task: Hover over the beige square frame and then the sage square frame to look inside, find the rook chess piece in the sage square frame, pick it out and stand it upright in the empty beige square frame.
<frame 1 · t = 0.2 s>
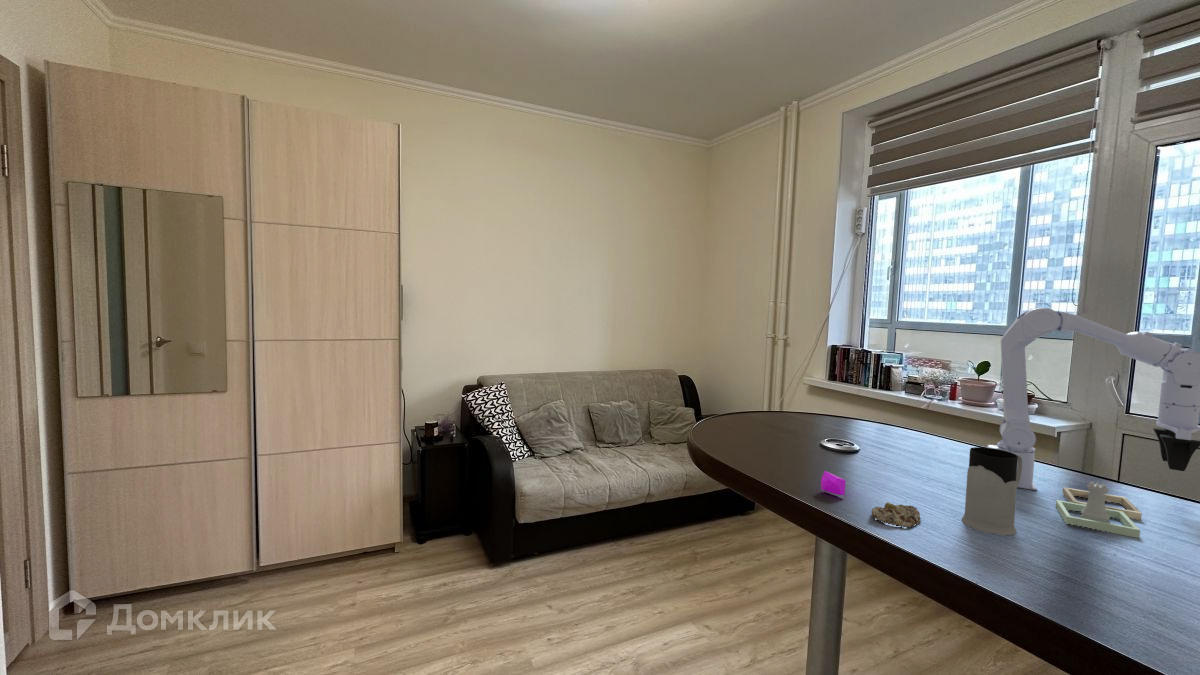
hand: (1173, 465, 108), 10 cm above the table, tool pointing down, fingers open, 7 cm apart
mineral rock: (897, 522, 102), on the table
sage square frame: (1094, 521, 102), on the table
beige black oval cylinder: (996, 524, 101), on the table
crystal: (833, 495, 115), on the table
rook chess piece: (1094, 522, 102), resting in sage square frame
beige square frame: (1099, 506, 110), on the table
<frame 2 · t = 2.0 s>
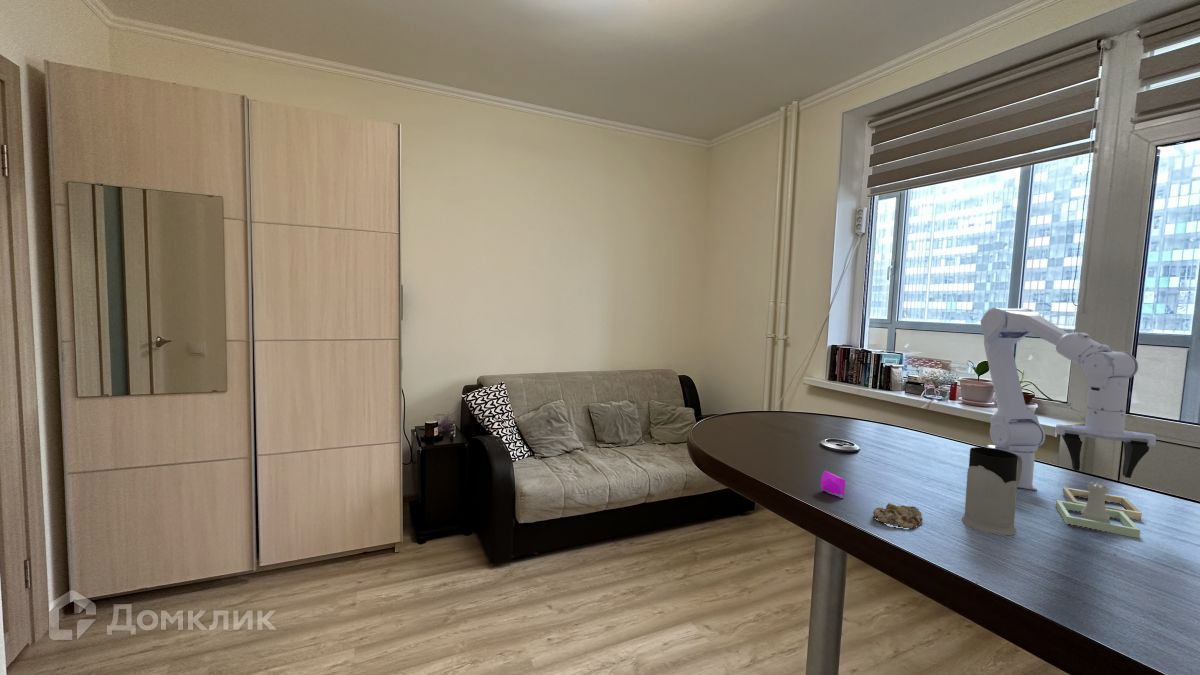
hand: (1100, 472, 104), 9 cm above the table, tool pointing down, fingers open, 7 cm apart
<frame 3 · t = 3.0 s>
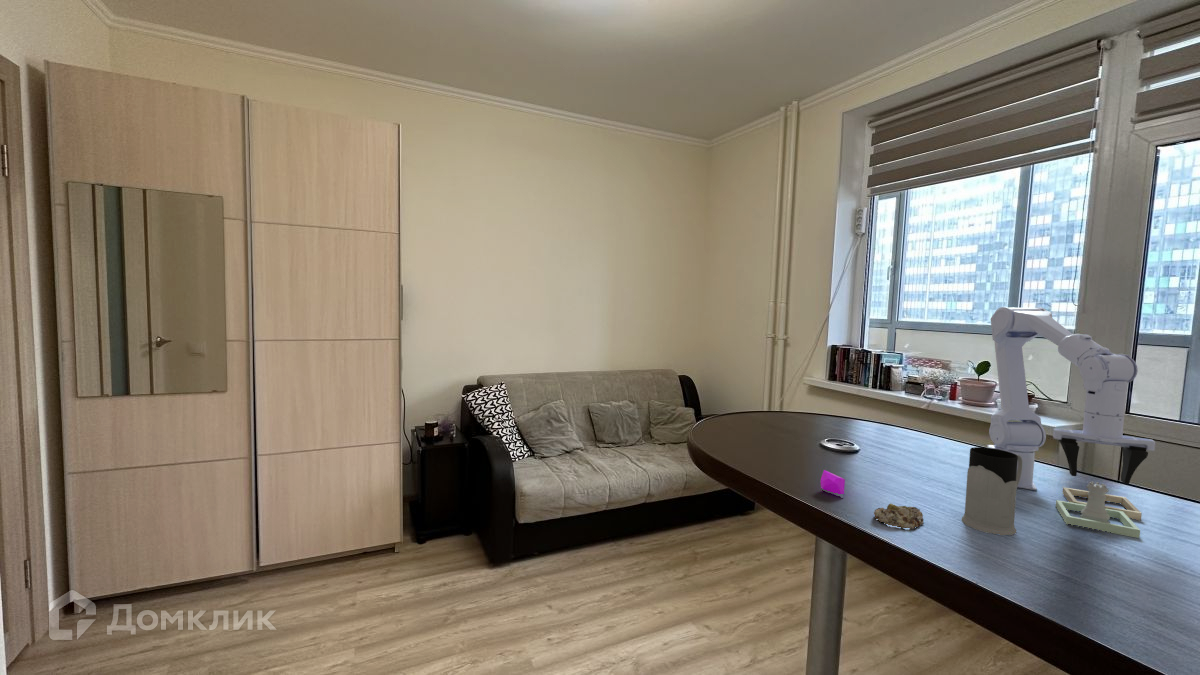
hand: (1098, 478, 101), 9 cm above the table, tool pointing down, fingers open, 7 cm apart
nothing on the table moved.
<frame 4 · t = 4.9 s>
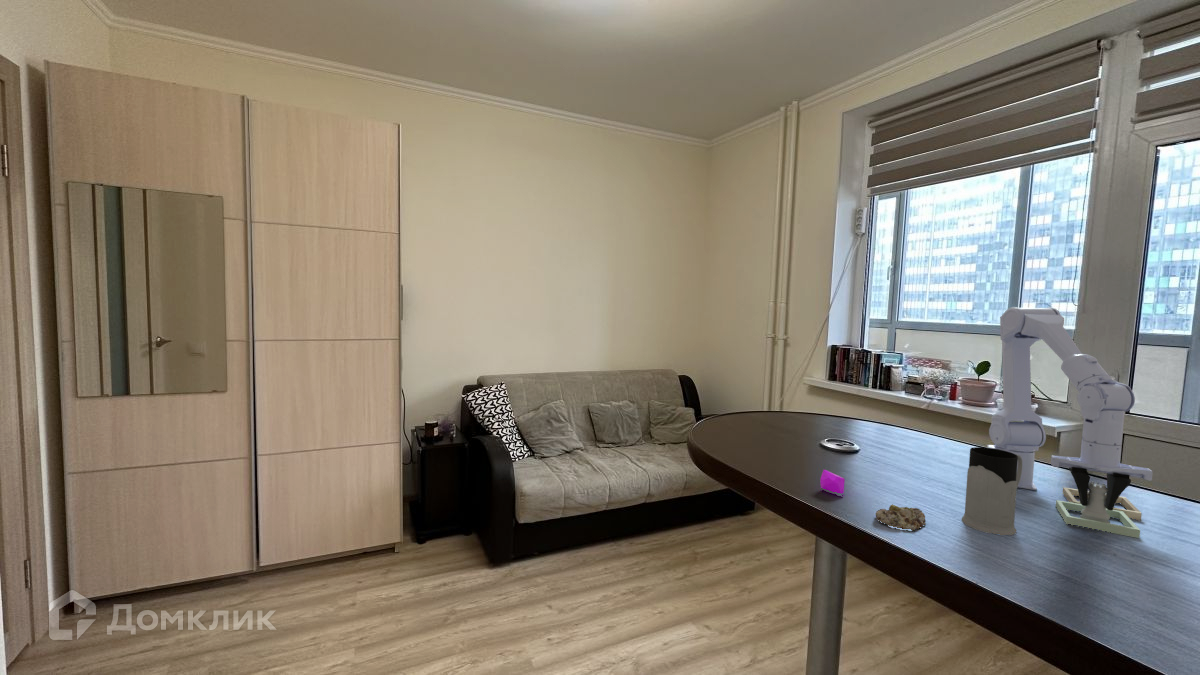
hand: (1095, 506, 102), 3 cm above the table, tool pointing down, fingers closed on rook chess piece, 3 cm apart
rook chess piece: (1094, 522, 102), resting in sage square frame, touching gripper
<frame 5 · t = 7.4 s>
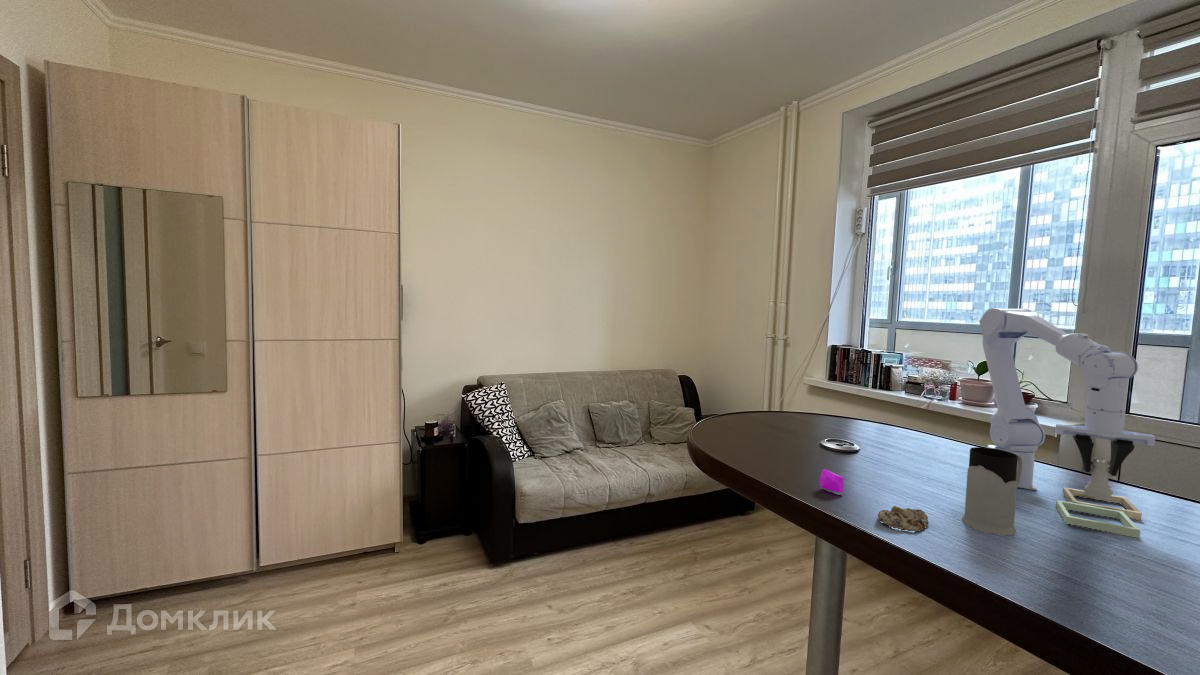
hand: (1099, 472, 104), 9 cm above the table, tool pointing down, fingers closed on rook chess piece, 3 cm apart
rook chess piece: (1098, 497, 104), point 4 cm above the table, touching gripper
when the fingers open (4 cm above the table, at t = 10.0 s): rook chess piece stays where it is, resting in beige square frame.
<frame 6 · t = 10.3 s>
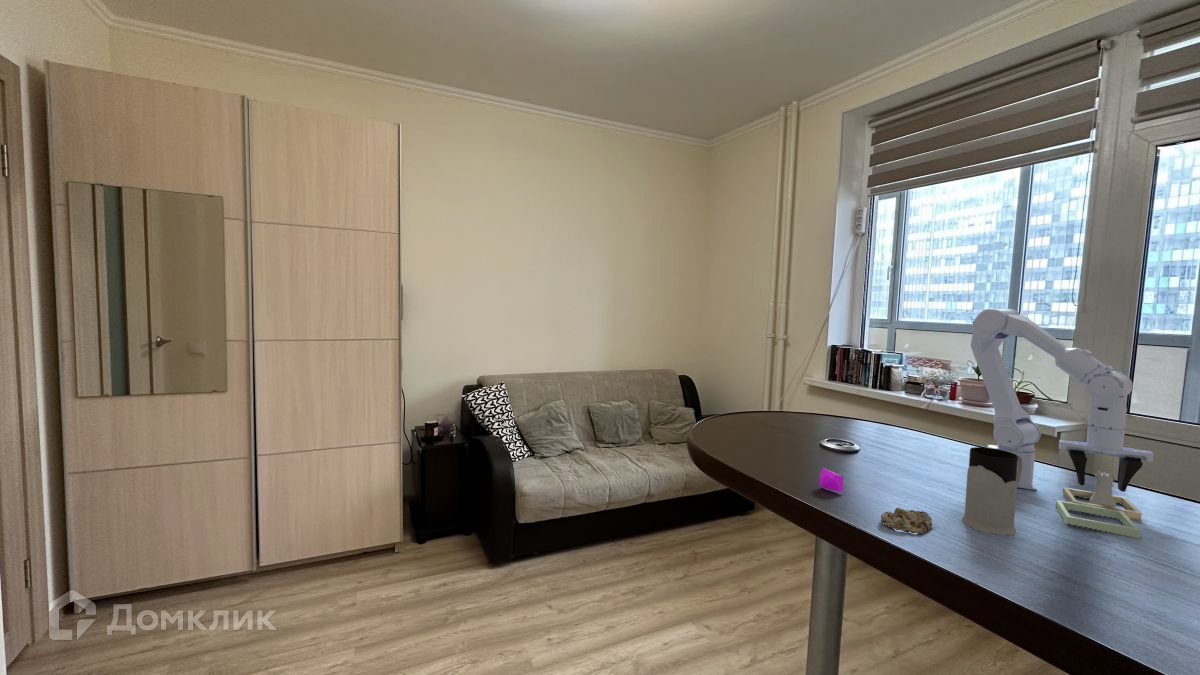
hand: (1100, 487, 109), 4 cm above the table, tool pointing down, fingers open, 6 cm apart
rook chess piece: (1102, 509, 109), resting in beige square frame
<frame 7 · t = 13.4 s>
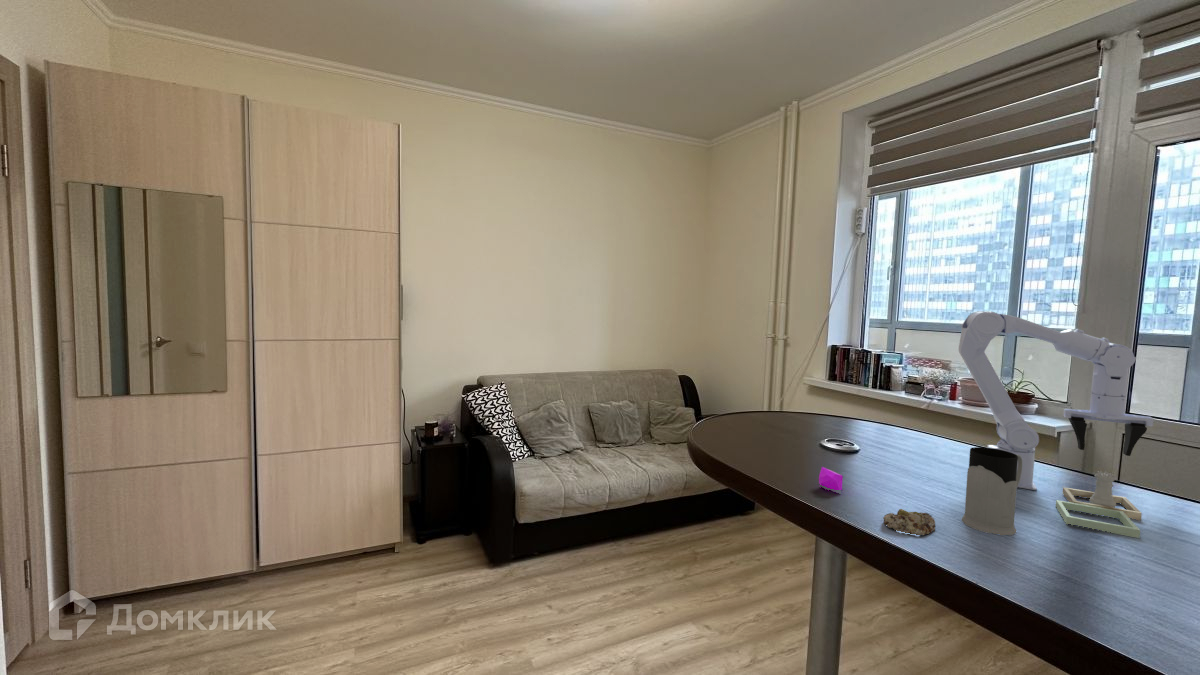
hand: (1103, 451, 116), 10 cm above the table, tool pointing down, fingers open, 7 cm apart
at the end: rook chess piece 1.0 cm off-centre on the beige square frame, point 0.0 cm above the beige square frame's base; rook chess piece tilted 0°; the gripper is holding nothing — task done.
